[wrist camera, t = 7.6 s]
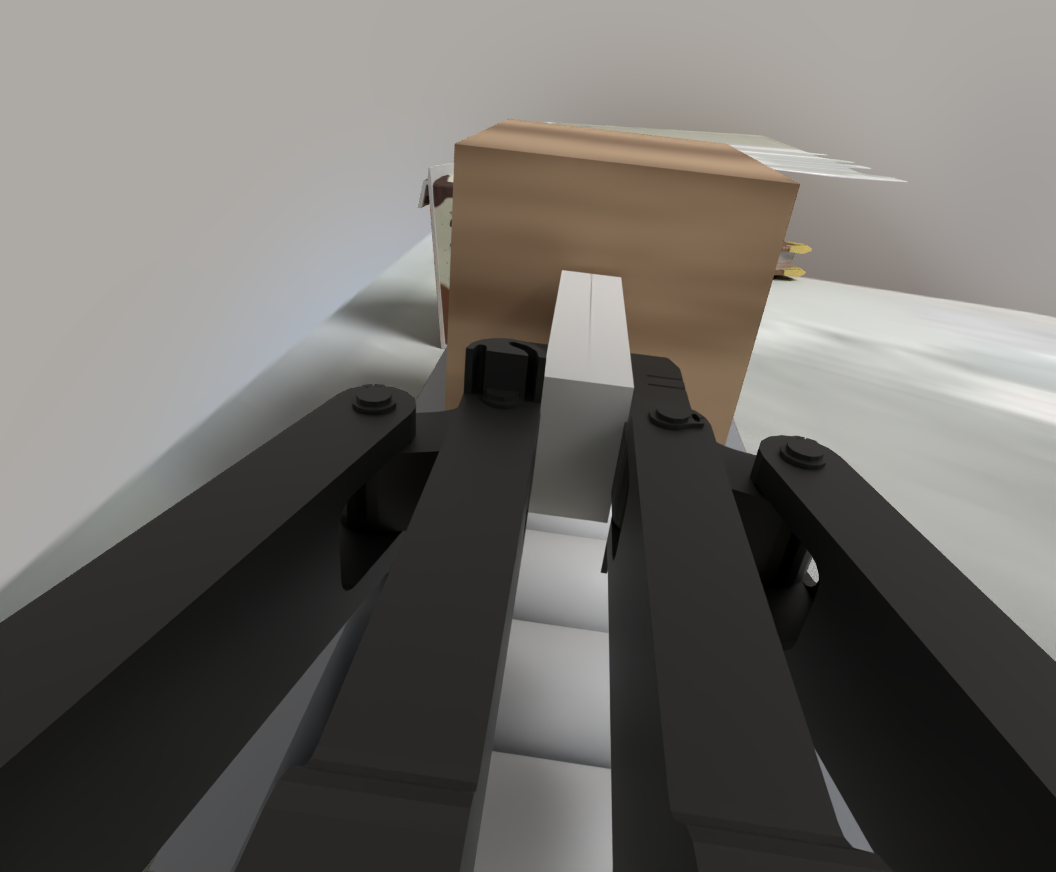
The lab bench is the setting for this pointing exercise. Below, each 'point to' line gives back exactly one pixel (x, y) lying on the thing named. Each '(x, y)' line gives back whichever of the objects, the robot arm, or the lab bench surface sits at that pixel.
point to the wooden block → (617, 245)
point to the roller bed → (306, 727)
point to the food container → (440, 234)
